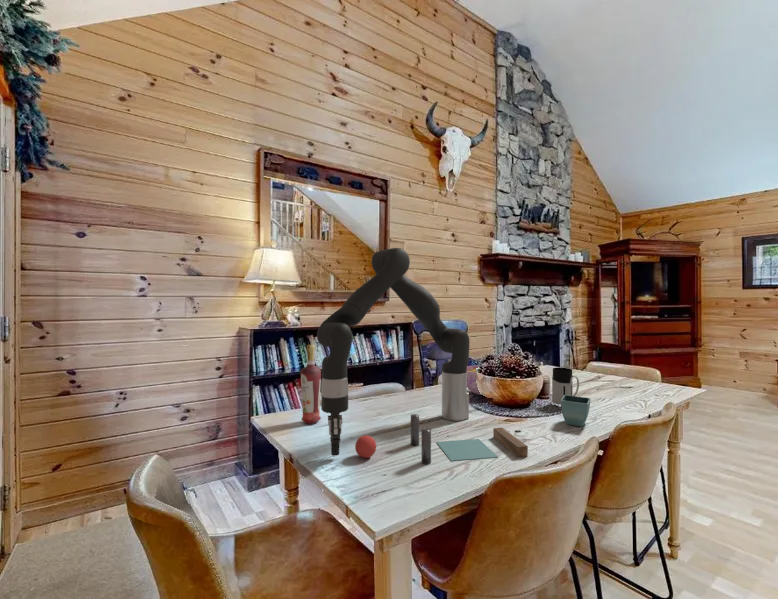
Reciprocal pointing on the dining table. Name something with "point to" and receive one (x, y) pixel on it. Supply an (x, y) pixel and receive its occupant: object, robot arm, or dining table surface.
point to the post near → (426, 445)
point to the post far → (414, 430)
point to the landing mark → (466, 449)
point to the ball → (365, 446)
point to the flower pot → (575, 409)
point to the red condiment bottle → (311, 389)
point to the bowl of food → (472, 379)
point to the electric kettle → (562, 384)
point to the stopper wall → (510, 442)
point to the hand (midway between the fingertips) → (335, 454)
